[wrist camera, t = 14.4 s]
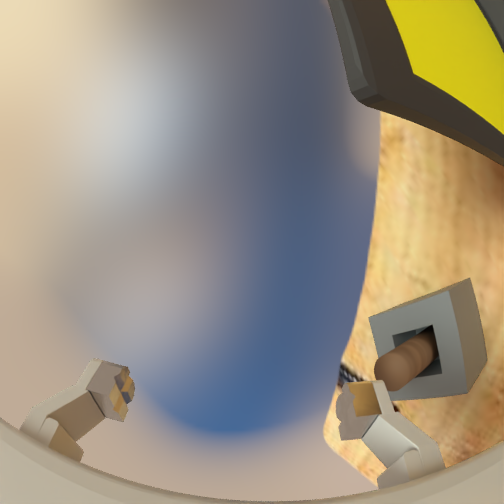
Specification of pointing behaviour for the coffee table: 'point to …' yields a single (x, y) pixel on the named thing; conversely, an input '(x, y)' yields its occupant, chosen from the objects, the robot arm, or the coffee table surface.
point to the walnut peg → (407, 360)
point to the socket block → (447, 336)
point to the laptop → (429, 64)
